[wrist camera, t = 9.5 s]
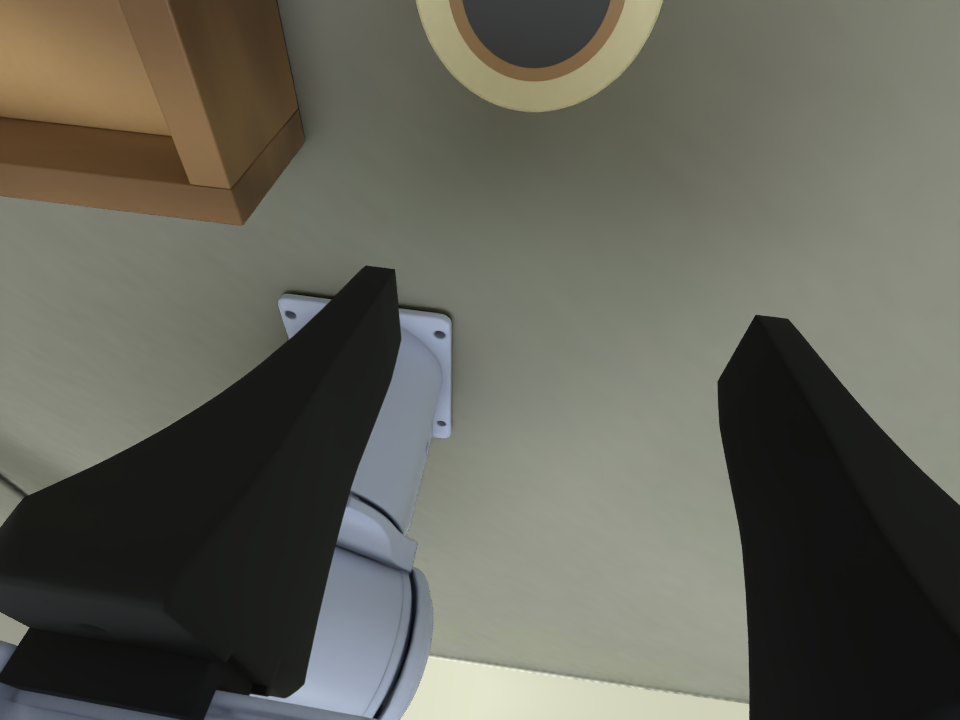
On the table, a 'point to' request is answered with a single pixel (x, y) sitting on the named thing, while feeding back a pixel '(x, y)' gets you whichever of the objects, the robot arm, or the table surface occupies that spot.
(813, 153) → the table surface
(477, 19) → the tape roll
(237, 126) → the shelf
